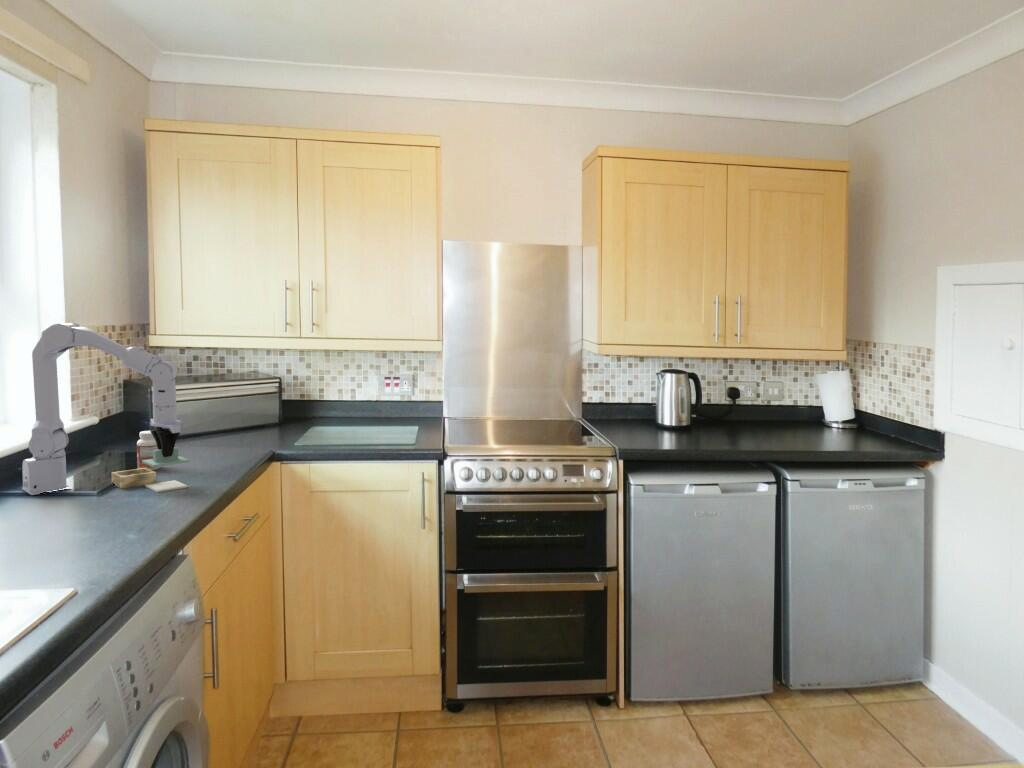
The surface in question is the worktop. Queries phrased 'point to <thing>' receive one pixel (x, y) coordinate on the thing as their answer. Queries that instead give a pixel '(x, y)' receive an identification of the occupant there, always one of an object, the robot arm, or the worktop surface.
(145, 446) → the pill bottle
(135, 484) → the box
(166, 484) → the mat
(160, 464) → the lid
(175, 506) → the worktop surface
